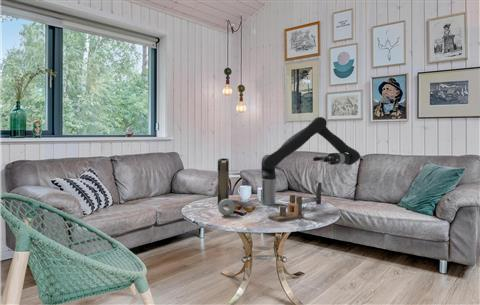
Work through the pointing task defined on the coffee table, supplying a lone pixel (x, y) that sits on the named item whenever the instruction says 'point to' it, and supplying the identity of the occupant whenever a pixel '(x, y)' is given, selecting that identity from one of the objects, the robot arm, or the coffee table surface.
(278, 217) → the shaft stand
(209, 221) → the coffee table surface
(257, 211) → the coffee table surface
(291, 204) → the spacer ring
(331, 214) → the coffee table surface
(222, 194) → the decorative book
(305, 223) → the coffee table surface
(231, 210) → the donut
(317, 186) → the grey piece
